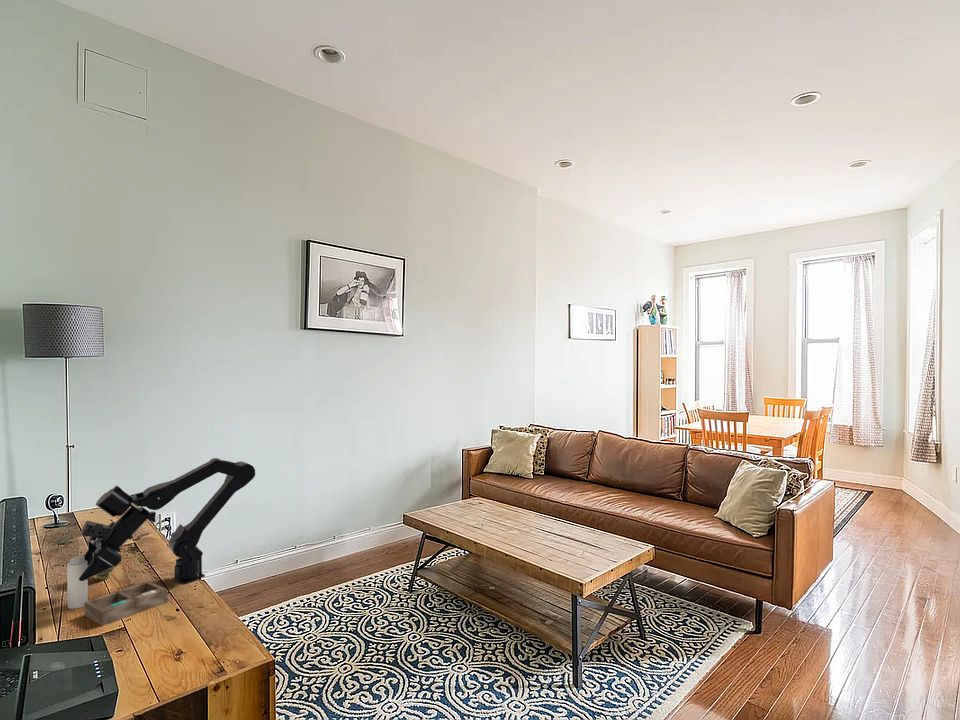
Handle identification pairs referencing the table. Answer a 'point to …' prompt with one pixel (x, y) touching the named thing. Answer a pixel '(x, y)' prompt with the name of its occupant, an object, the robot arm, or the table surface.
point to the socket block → (125, 603)
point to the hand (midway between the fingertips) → (78, 575)
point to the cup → (104, 574)
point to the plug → (76, 583)
